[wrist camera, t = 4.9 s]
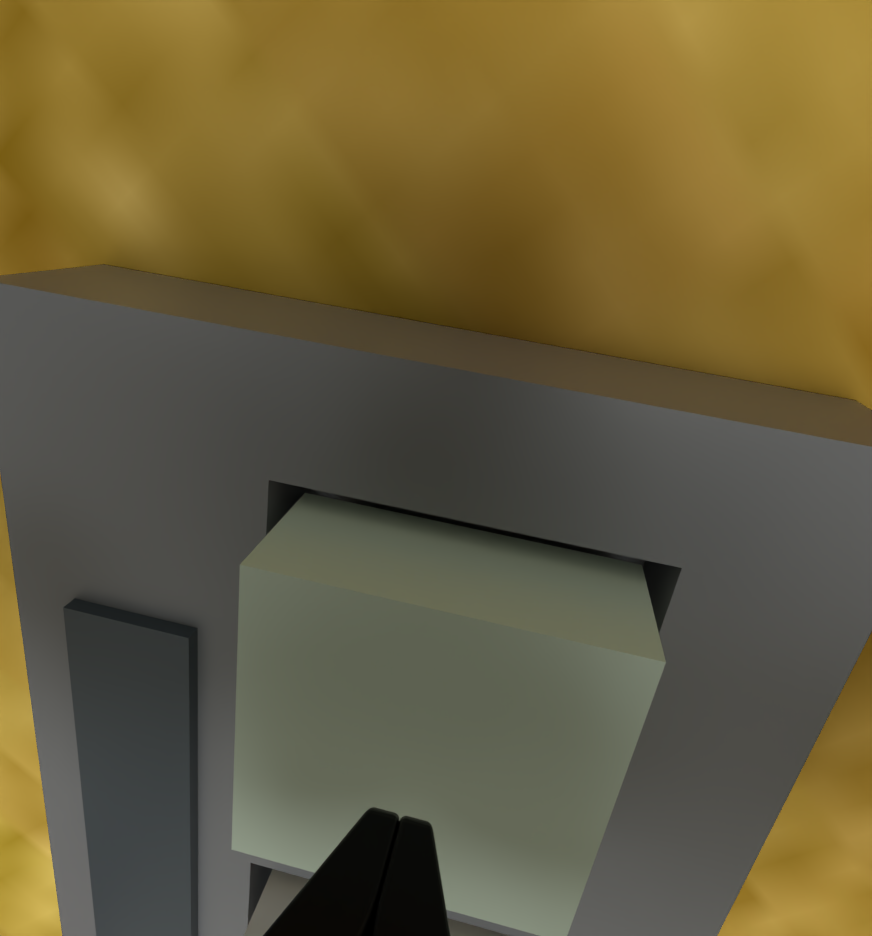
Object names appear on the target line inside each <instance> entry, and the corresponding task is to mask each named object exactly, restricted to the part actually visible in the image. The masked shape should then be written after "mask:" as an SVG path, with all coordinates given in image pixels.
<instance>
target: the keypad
mask: <svg viewBox="0 0 872 936" xmlns="http://www.w3.org/2000/svg"><path fill="white" fill-rule="evenodd" d="M0 473H1V481H2V488H3V496H4V503H5V511H6V518H7V525H8V533H9V540H10V548H11V555H12V563H13V570H14V578H15V585H16V593H17V600H18V608H19V615H20V622H21V630H22V637H23V645H24V652H25V660H26V667H27V675H28V682H29V690H30V697H31V705H32V712H33V720H34V727H35V734H36V742H37V749H38V757H39V764H40V772H41V779H42V787H43V794H44V802H45V809H46V817H47V824H48V831H49V839H50V846H51V854H52V861H53V869H54V876H55V884H56V891H57V899H58V906H59V914H60V921H61V928H62V936H244V934H245V931H246V929H247V927H248V924H249V922H250V920H251V917H252V915H253V913H254V911H255V908H256V906H257V904H258V901H259V899H260V897H261V894H262V892H263V890H264V888H265V885H266V883H267V881H268V878H269V876H270V874H271V871H272V869H275V870H278V871H282V872H285V873H289V874H292V875H296V876H300V877H303V878H307V879H310V878H311V877H312V876H313V874H314V872H310V871H306V870H303V869H299V868H296V867H292V866H289V865H285V864H281V863H278V862H274V861H271V860H267V859H264V858H260V857H256V856H253V855H249V854H246V853H242V852H239V851H235V850H231V848H232V814H233V780H234V746H235V712H236V678H237V643H238V609H239V575H240V564H241V563H242V562H243V561H244V559H245V558H246V557H247V556H248V555H249V554H250V553H251V552H252V551H253V550H254V548H255V547H256V546H257V545H258V544H259V543H260V542H261V541H262V540H263V539H264V537H265V536H266V535H267V534H268V533H269V532H270V531H271V530H272V529H273V528H274V526H275V525H276V524H277V523H278V522H279V521H280V520H281V519H282V518H283V517H284V515H285V514H286V513H287V512H288V511H289V510H290V509H291V508H292V507H293V505H294V504H295V503H296V502H297V501H298V500H299V499H300V498H301V497H302V496H303V494H304V493H309V494H314V495H318V496H323V497H328V498H332V499H337V500H342V501H346V502H351V503H356V504H360V505H365V506H370V507H374V508H379V509H384V510H388V511H393V512H398V513H402V514H407V515H412V516H416V517H421V518H426V519H430V520H435V521H440V522H444V523H449V524H454V525H458V526H463V527H468V528H472V529H477V530H482V531H486V532H491V533H496V534H500V535H505V536H510V537H514V538H519V539H524V540H528V541H533V542H538V543H542V544H547V545H552V546H556V547H561V548H566V549H570V550H575V551H580V552H584V553H589V554H594V555H598V556H603V557H608V558H612V559H617V560H622V561H626V562H631V563H636V564H640V565H642V567H643V571H644V575H645V579H646V583H647V587H648V591H649V595H650V599H651V604H652V608H653V612H654V616H655V620H656V624H657V628H658V632H659V636H660V640H661V644H662V648H663V652H664V656H665V660H666V664H665V666H664V669H663V672H662V675H661V678H660V680H659V683H658V686H657V689H656V691H655V694H654V697H653V700H652V702H651V705H650V708H649V711H648V714H647V716H646V719H645V722H644V725H643V727H642V730H641V733H640V736H639V739H638V741H637V744H636V747H635V750H634V752H633V755H632V758H631V761H630V763H629V766H628V769H627V772H626V775H625V777H624V780H623V783H622V786H621V788H620V791H619V794H618V797H617V799H616V802H615V805H614V808H613V811H612V813H611V816H610V819H609V822H608V824H607V827H606V830H605V833H604V835H603V838H602V841H601V844H600V847H599V849H598V852H597V855H596V858H595V860H594V863H593V866H592V869H591V871H590V874H589V877H588V880H587V883H586V885H585V888H584V891H583V894H582V896H581V899H580V902H579V905H578V907H577V910H576V913H575V916H574V919H573V921H572V924H571V927H570V930H569V932H568V935H567V936H717V935H718V933H719V931H720V929H721V927H722V925H723V923H724V921H725V919H726V917H727V915H728V913H729V911H730V909H731V907H732V905H733V903H734V901H735V899H736V897H737V895H738V894H739V892H740V890H741V888H742V886H743V884H744V882H745V880H746V878H747V876H748V874H749V872H750V870H751V868H752V866H753V864H754V862H755V860H756V858H757V856H758V854H759V852H760V850H761V848H762V846H763V844H764V842H765V840H766V838H767V836H768V834H769V832H770V831H771V829H772V827H773V825H774V823H775V821H776V819H777V817H778V815H779V813H780V811H781V809H782V807H783V805H784V803H785V801H786V799H787V797H788V795H789V793H790V791H791V789H792V787H793V785H794V783H795V781H796V779H797V777H798V775H799V773H800V771H801V769H802V768H803V766H804V764H805V762H806V760H807V758H808V756H809V754H810V752H811V750H812V748H813V746H814V744H815V742H816V740H817V738H818V736H819V734H820V732H821V730H822V728H823V726H824V724H825V722H826V720H827V718H828V716H829V714H830V712H831V710H832V708H833V706H834V705H835V703H836V701H837V699H838V697H839V695H840V693H841V691H842V689H843V687H844V685H845V683H846V681H847V679H848V677H849V675H850V673H851V671H852V669H853V667H854V665H855V663H856V661H857V659H858V657H859V655H860V653H861V651H862V649H863V647H864V645H865V643H866V642H867V640H868V638H869V636H870V634H871V632H872V410H870V409H869V408H867V407H866V406H864V405H862V404H861V403H859V402H857V401H856V400H850V399H845V398H839V397H834V396H828V395H823V394H817V393H812V392H806V391H801V390H795V389H790V388H784V387H778V386H773V385H767V384H762V383H756V382H751V381H745V380H740V379H734V378H729V377H723V376H718V375H712V374H707V373H701V372H696V371H690V370H684V369H679V368H673V367H668V366H662V365H657V364H651V363H646V362H640V361H635V360H629V359H624V358H618V357H613V356H607V355H602V354H596V353H591V352H585V351H579V350H574V349H568V348H563V347H557V346H552V345H546V344H541V343H535V342H530V341H524V340H519V339H513V338H508V337H502V336H497V335H491V334H485V333H480V332H474V331H469V330H463V329H458V328H452V327H447V326H441V325H436V324H430V323H425V322H419V321H414V320H408V319H403V318H397V317H392V316H386V315H380V314H375V313H369V312H364V311H358V310H353V309H347V308H342V307H336V306H331V305H325V304H320V303H314V302H309V301H303V300H298V299H292V298H286V297H281V296H275V295H270V294H264V293H259V292H253V291H248V290H242V289H237V288H231V287H226V286H220V285H215V284H209V283H204V282H198V281H193V280H187V279H181V278H176V277H170V276H165V275H159V274H154V273H148V272H143V271H137V270H132V269H126V268H121V267H115V266H110V265H94V266H85V267H76V268H66V269H57V270H47V271H38V272H29V273H19V274H10V275H1V276H0ZM446 911H447V917H448V918H449V919H453V920H456V921H460V922H463V923H467V924H470V925H474V926H477V927H481V928H485V929H488V930H492V931H495V932H499V933H502V934H506V935H509V936H539V935H535V934H532V933H528V932H525V931H521V930H517V929H514V928H510V927H507V926H503V925H499V924H496V923H492V922H489V921H485V920H482V919H478V918H474V917H471V916H467V915H464V914H460V913H457V912H453V911H449V910H446Z"/></svg>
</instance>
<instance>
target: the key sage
mask: <svg viewBox="0 0 872 936" xmlns="http://www.w3.org/2000/svg"><path fill="white" fill-rule="evenodd" d="M665 664H666V660H665V656H664V652H663V648H662V644H661V640H660V636H659V632H658V628H657V624H656V620H655V616H654V612H653V608H652V604H651V599H650V595H649V591H648V587H647V583H646V579H645V575H644V571H643V567H642V565H640V564H636V563H631V562H626V561H622V560H617V559H612V558H608V557H603V556H598V555H594V554H589V553H584V552H580V551H575V550H570V549H566V548H561V547H556V546H552V545H547V544H542V543H538V542H533V541H528V540H524V539H519V538H514V537H510V536H505V535H500V534H496V533H491V532H486V531H482V530H477V529H472V528H468V527H463V526H458V525H454V524H449V523H444V522H440V521H435V520H430V519H426V518H421V517H416V516H412V515H407V514H402V513H398V512H393V511H388V510H384V509H379V508H374V507H370V506H365V505H360V504H356V503H351V502H346V501H342V500H337V499H332V498H328V497H323V496H318V495H314V494H309V493H304V494H303V496H302V497H301V498H300V499H299V500H298V501H297V502H296V503H295V504H294V505H293V507H292V508H291V509H290V510H289V511H288V512H287V513H286V514H285V515H284V517H283V518H282V519H281V520H280V521H279V522H278V523H277V524H276V525H275V526H274V528H273V529H272V530H271V531H270V532H269V533H268V534H267V535H266V536H265V537H264V539H263V540H262V541H261V542H260V543H259V544H258V545H257V546H256V547H255V548H254V550H253V551H252V552H251V553H250V554H249V555H248V556H247V557H246V558H245V559H244V561H243V562H242V563H241V564H240V575H239V609H238V643H237V678H236V712H235V746H234V780H233V814H232V848H231V850H235V851H239V852H242V853H246V854H249V855H253V856H256V857H260V858H264V859H267V860H271V861H274V862H278V863H281V864H285V865H289V866H292V867H296V868H299V869H303V870H306V871H310V872H314V873H315V872H316V871H317V869H318V868H319V867H320V866H321V865H322V863H323V862H324V861H325V860H326V859H327V857H328V856H329V855H330V854H331V853H332V851H333V850H334V849H335V848H336V847H337V845H338V844H339V843H340V842H341V840H342V839H343V838H344V837H345V836H346V834H347V833H348V832H349V831H350V830H351V828H352V827H353V826H354V825H355V824H356V822H357V821H358V820H359V819H360V818H361V816H362V815H363V814H364V813H365V812H366V811H367V810H368V809H369V808H372V807H376V808H380V809H384V810H387V811H391V812H395V813H397V814H398V816H399V821H400V819H401V818H402V817H403V816H410V817H414V818H417V819H421V820H425V821H428V822H429V823H430V824H431V825H432V828H433V832H434V838H435V844H436V850H437V856H438V862H439V868H440V875H441V881H442V887H443V893H444V899H445V905H446V910H449V911H453V912H457V913H460V914H464V915H467V916H471V917H474V918H478V919H482V920H485V921H489V922H492V923H496V924H499V925H503V926H507V927H510V928H514V929H517V930H521V931H525V932H528V933H532V934H535V935H539V936H567V935H568V932H569V930H570V927H571V924H572V921H573V919H574V916H575V913H576V910H577V907H578V905H579V902H580V899H581V896H582V894H583V891H584V888H585V885H586V883H587V880H588V877H589V874H590V871H591V869H592V866H593V863H594V860H595V858H596V855H597V852H598V849H599V847H600V844H601V841H602V838H603V835H604V833H605V830H606V827H607V824H608V822H609V819H610V816H611V813H612V811H613V808H614V805H615V802H616V799H617V797H618V794H619V791H620V788H621V786H622V783H623V780H624V777H625V775H626V772H627V769H628V766H629V763H630V761H631V758H632V755H633V752H634V750H635V747H636V744H637V741H638V739H639V736H640V733H641V730H642V727H643V725H644V722H645V719H646V716H647V714H648V711H649V708H650V705H651V702H652V700H653V697H654V694H655V691H656V689H657V686H658V683H659V680H660V678H661V675H662V672H663V669H664V666H665Z"/></svg>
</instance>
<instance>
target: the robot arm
mask: <svg viewBox="0 0 872 936" xmlns="http://www.w3.org/2000/svg"><path fill="white" fill-rule="evenodd" d="M263 936H451V935H450V929H449V923H448V917H447V911H446V905H445V899H444V893H443V887H442V881H441V875H440V868H439V862H438V856H437V850H436V844H435V838H434V832H433V828H432V825H431V824H430V823H429V822H428V821H425V820H421V819H417V818H414V817H410V816H403V817H402V818H401V819H400V821H399V816H398V814H397V813H395V812H391V811H387V810H384V809H380V808H376V807H372V808H369V809H368V810H367V811H366V812H365V813H364V814H363V815H362V816H361V818H360V819H359V820H358V821H357V822H356V824H355V825H354V826H353V827H352V828H351V830H350V831H349V832H348V833H347V834H346V836H345V837H344V838H343V839H342V840H341V842H340V843H339V844H338V845H337V847H336V848H335V849H334V850H333V851H332V853H331V854H330V855H329V856H328V857H327V859H326V860H325V861H324V862H323V863H322V865H321V866H320V867H319V868H318V869H317V871H316V872H315V873H314V874H313V876H312V877H311V878H310V879H309V880H308V882H307V883H306V884H305V885H304V886H303V888H302V889H301V890H300V891H299V892H298V894H297V895H296V896H295V897H294V899H293V900H292V901H291V902H290V903H289V905H288V906H287V907H286V908H285V909H284V911H283V912H282V913H281V914H280V915H279V917H278V918H277V919H276V920H275V921H274V923H273V924H272V925H271V926H270V928H269V929H268V930H267V931H266V932H265V934H264V935H263Z"/></svg>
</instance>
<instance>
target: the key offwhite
mask: <svg viewBox="0 0 872 936" xmlns="http://www.w3.org/2000/svg"><path fill="white" fill-rule="evenodd" d="M308 880H309V879H307V878H303V877H300V876H296V875H292V874H289V873H285V872H282V871H278V870H275V869H272V871H271V874H270V876H269V878H268V881H267V883H266V885H265V888H264V890H263V892H262V894H261V897H260V899H259V901H258V904H257V906H256V908H255V911H254V913H253V915H252V917H251V920H250V922H249V924H248V927H247V929H246V931H245V934H244V936H263V935H264V934H265V932H266V931H267V930H268V929H269V928H270V926H271V925H272V924H273V923H274V921H275V920H276V919H277V918H278V917H279V915H280V914H281V913H282V912H283V911H284V909H285V908H286V907H287V906H288V905H289V903H290V902H291V901H292V900H293V899H294V897H295V896H296V895H297V894H298V892H299V891H300V890H301V889H302V888H303V886H304V885H305V884H306V883H307V882H308ZM448 923H449V929H450V935H451V936H509V935H506V934H502V933H499V932H495V931H492V930H488V929H485V928H481V927H477V926H474V925H470V924H467V923H463V922H460V921H456V920H453V919H449V918H448Z"/></svg>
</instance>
